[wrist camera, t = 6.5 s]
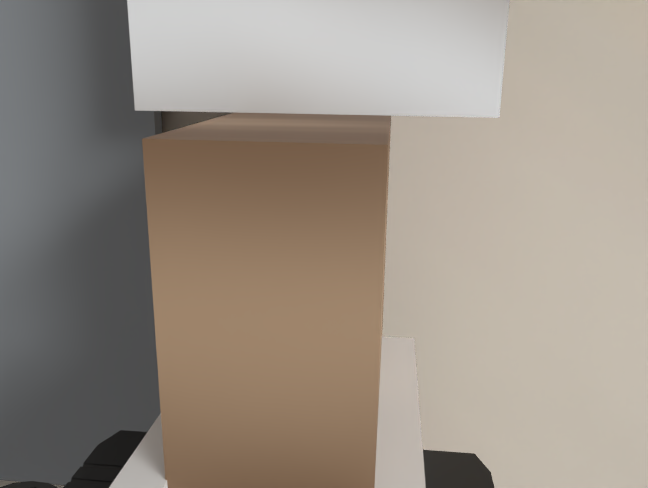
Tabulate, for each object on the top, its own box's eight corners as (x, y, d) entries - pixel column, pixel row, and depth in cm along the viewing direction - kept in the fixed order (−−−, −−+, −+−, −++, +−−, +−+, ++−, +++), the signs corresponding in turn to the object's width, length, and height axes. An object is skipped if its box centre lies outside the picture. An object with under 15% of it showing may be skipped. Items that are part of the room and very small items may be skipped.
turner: (449, 583, 16) (479, 868, 10) (187, 559, 17) (80, 812, 11) (527, -365, 11) (683, -869, 5) (133, -342, 11) (-133, -759, 6)
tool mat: (181, 484, 19) (176, 494, 19) (-60, 464, 20) (-71, 473, 20) (132, -394, 13) (123, -411, 13) (-202, -371, 14) (-223, -387, 14)
